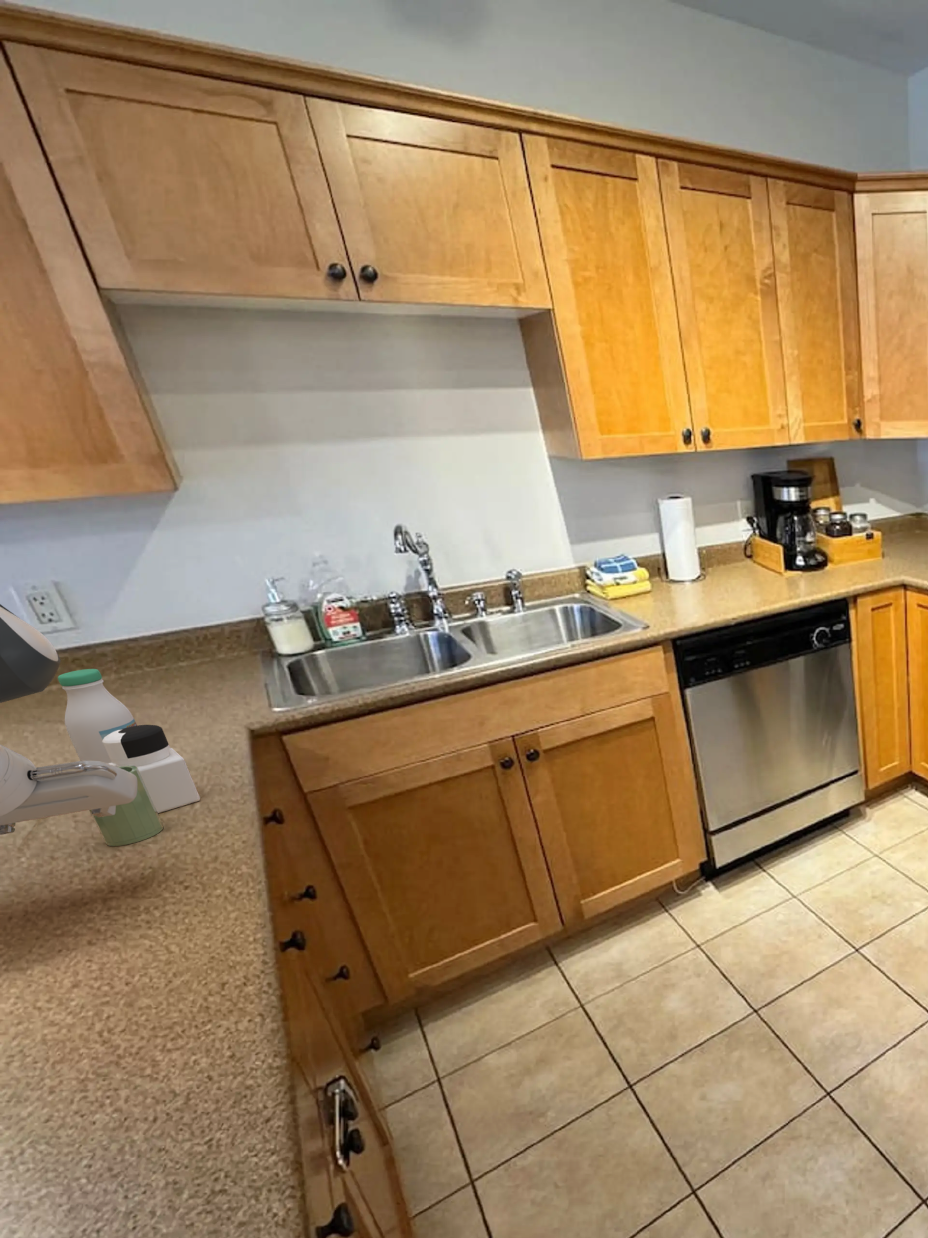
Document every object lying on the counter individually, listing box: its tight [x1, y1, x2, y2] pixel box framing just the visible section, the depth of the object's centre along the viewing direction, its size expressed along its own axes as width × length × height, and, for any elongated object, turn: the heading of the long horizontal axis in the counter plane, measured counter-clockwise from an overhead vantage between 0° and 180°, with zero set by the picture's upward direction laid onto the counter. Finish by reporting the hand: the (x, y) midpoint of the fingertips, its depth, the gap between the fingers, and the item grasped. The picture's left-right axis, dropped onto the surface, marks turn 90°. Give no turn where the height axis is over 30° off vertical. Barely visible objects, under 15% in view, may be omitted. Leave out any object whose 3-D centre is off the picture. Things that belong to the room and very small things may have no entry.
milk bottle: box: [57, 668, 138, 764], centre depth 121 cm, size 8×8×20 cm
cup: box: [88, 766, 164, 847], centre depth 106 cm, size 6×6×10 cm
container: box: [102, 724, 201, 814], centre depth 115 cm, size 8×8×13 cm
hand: (58, 819), depth 94 cm, fingers open, 8 cm apart
